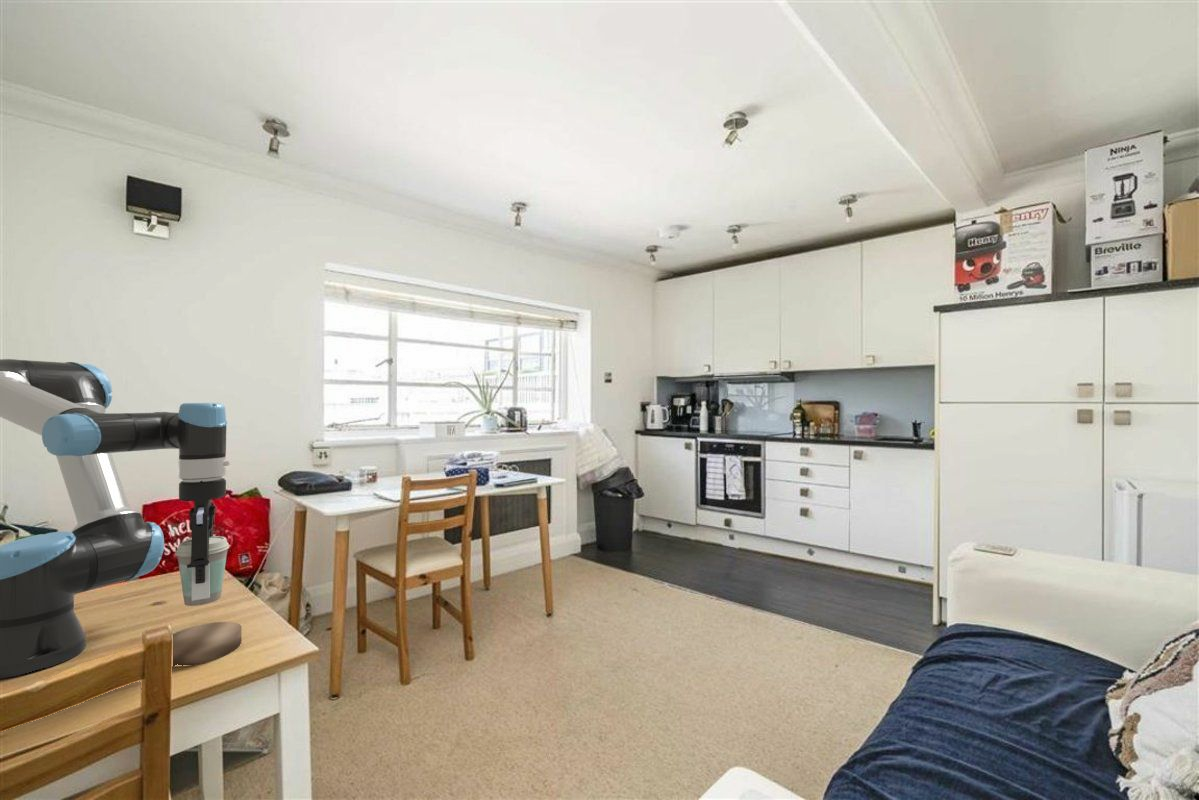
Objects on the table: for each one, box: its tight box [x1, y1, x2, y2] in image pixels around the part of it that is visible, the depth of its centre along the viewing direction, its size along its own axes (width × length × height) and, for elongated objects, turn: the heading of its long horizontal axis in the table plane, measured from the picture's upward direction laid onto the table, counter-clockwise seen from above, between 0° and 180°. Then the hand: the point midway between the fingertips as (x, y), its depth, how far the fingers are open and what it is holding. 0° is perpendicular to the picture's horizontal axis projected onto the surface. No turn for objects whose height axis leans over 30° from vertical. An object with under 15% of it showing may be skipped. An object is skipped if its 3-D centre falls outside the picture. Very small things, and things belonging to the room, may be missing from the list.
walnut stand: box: [172, 621, 243, 668], centre depth 103 cm, size 13×13×3 cm
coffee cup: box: [175, 535, 230, 607], centre depth 103 cm, size 8×8×12 cm
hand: (202, 592), depth 103 cm, fingers closed on coffee cup, 8 cm apart
